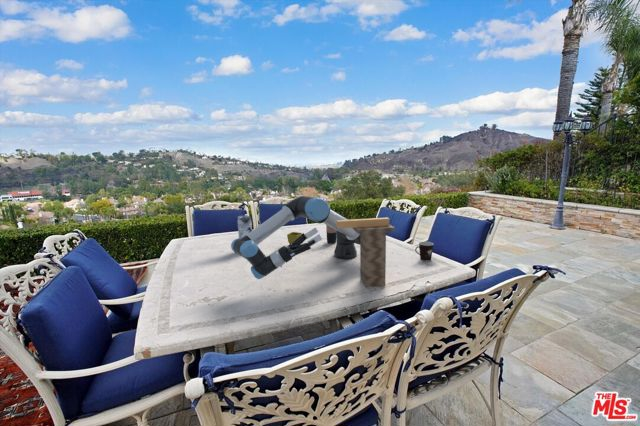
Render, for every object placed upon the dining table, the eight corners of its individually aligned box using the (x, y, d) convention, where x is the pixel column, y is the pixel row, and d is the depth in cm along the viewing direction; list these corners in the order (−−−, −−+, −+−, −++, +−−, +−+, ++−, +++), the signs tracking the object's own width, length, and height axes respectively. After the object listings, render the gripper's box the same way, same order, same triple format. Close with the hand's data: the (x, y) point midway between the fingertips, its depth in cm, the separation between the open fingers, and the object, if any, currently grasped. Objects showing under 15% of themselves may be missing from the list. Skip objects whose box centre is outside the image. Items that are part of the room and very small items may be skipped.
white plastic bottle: (241, 254, 199) (238, 216, 195) (239, 250, 209) (236, 213, 204) (254, 252, 203) (251, 214, 198) (251, 248, 212) (248, 212, 208)
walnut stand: (358, 289, 140) (358, 229, 135) (352, 279, 152) (352, 224, 146) (393, 285, 142) (394, 227, 137) (384, 276, 154) (385, 222, 149)
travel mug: (326, 241, 225) (325, 216, 221) (335, 240, 225) (335, 216, 222) (327, 244, 217) (326, 218, 214) (337, 243, 218) (336, 218, 214)
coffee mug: (430, 256, 183) (431, 241, 181) (434, 261, 175) (435, 245, 173) (412, 256, 184) (412, 241, 183) (415, 261, 176) (415, 245, 174)
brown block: (337, 228, 138) (337, 221, 137) (336, 227, 141) (336, 220, 140) (389, 225, 141) (389, 218, 141) (387, 224, 144) (387, 217, 144)
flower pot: (303, 244, 220) (302, 232, 218) (297, 247, 212) (296, 235, 210) (293, 243, 223) (292, 231, 222) (287, 246, 215) (286, 234, 214)
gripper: (285, 254, 151) (319, 233, 151) (286, 272, 126) (326, 246, 127) (277, 243, 149) (311, 221, 150) (277, 258, 125) (318, 232, 125)
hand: (318, 232), depth 138 cm, fingers open, 13 cm apart
